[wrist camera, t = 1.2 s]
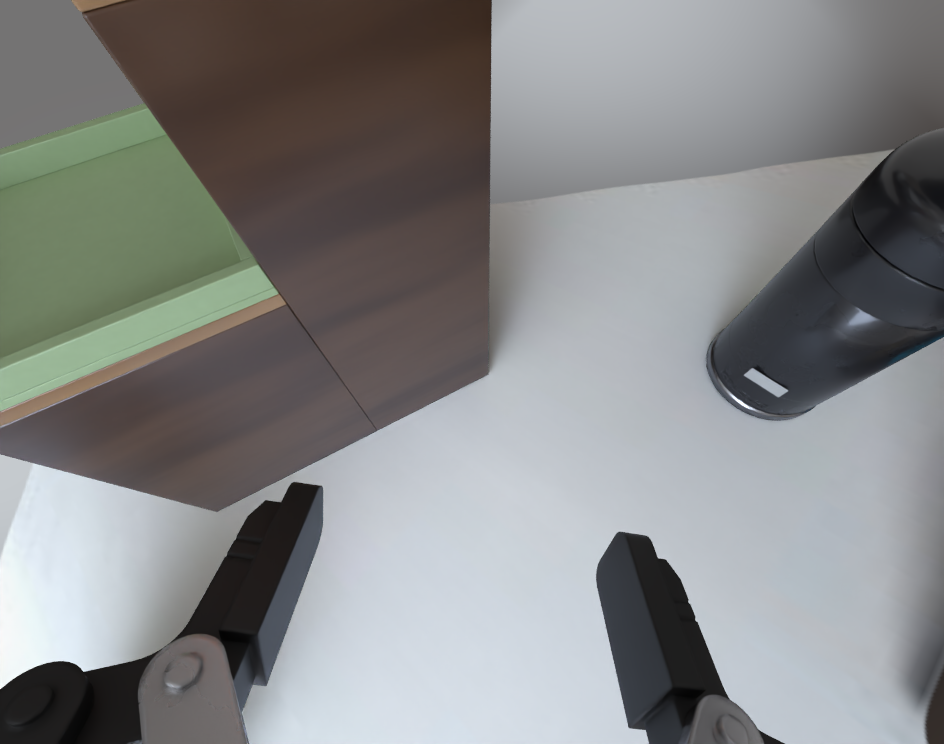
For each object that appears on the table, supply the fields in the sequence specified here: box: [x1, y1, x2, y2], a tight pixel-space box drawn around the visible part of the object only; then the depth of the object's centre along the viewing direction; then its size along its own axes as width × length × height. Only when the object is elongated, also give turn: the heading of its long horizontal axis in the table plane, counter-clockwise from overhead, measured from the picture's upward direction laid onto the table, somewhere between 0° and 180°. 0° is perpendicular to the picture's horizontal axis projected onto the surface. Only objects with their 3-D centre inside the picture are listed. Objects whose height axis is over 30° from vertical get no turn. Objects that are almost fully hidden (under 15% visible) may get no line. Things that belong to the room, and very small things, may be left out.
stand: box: [0, 0, 492, 512], centre depth 26 cm, size 14×25×31 cm, turn 119°
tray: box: [0, 103, 279, 411], centre depth 20 cm, size 14×14×2 cm
